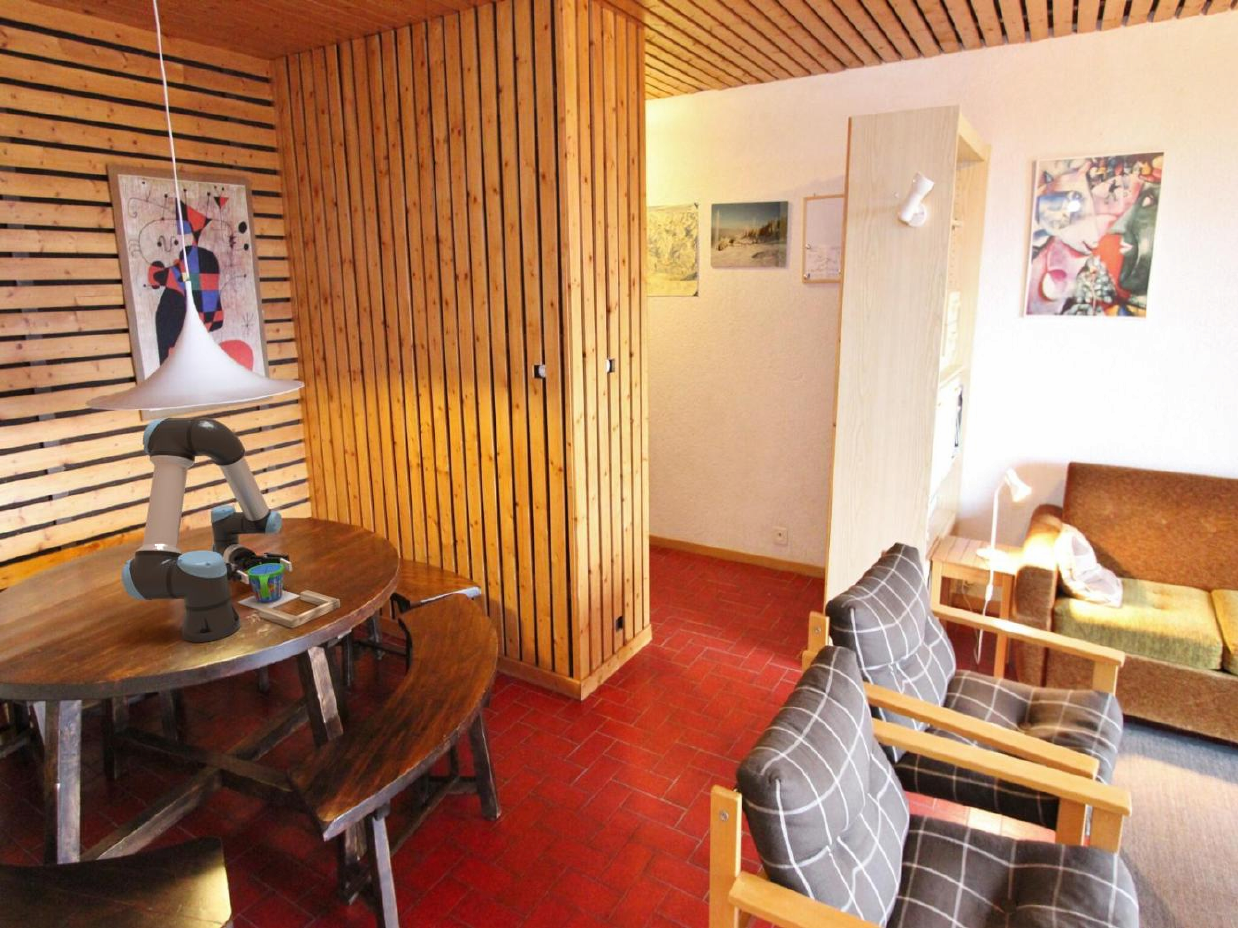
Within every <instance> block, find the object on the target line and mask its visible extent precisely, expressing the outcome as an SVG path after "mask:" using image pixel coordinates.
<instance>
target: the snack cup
mask: <svg viewBox="0 0 1238 928" xmlns="http://www.w3.org/2000/svg"><path fill="white" fill-rule="evenodd" d="M284 572H285V569H284V567H283V565H281V564H278V563H268V564H262V565H258V566H255V567H252V568H250V569H249V570H248V571H246V574H247V575H248V577H249V583H250V585H251V588H252V591H253V594H254V595H255V597H256V600H257V601H258V602H271V601H275V600H277V599H280V597H281V596H282V590H283V585H284V584H283V583H284V582H283V581H284V576H283V575H284V574H283V573H284Z"/></svg>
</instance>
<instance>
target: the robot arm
mask: <svg viewBox="0 0 1238 928" xmlns="http://www.w3.org/2000/svg"><path fill="white" fill-rule="evenodd" d="M142 445H143V450H144V452H145V454H146V455H147V456H149V461H150V462H151V464H152V465H153V467H154V468H153V473H152V481H151V482H152V483H151V487H150V488H151V489H150V494H149V501H148V507H147V515H146V522H145V528H144V534H143V535H144V536H143V543H142V546H140V547H139V548H138V549H136V550H135V552H134V557H133V558H131V559H128V560H127V561H126V562H125V564H124V565H123V568H122V571H121V582H122V585H123V588H124V590H125V592H126V594H127V595H128V596H129V597H130V598H132V599H135V600H139V601H141V600H142V601H143V600H145V601H153V600H154V601H156V600H183V604H184V616H183V620H182V625H181V636H182V639H183V640H185V641H187V642H190V643H204V642H205V643H206V642H211V641H212V642H213V641H215V640H220V639H223V638H226V637H229V636H230V635H233V634H234V633H235V632H237V631H238V630H240V628H241V626H242V623H241V617H240V615H239V613H238V612H237V610H236V608H235V607H234V606H235V605H233V603H232V601H231V596H230V595H231V593H230V585H229V581H230V580H231V579H232V581H233V582H234V583H236V582H238V581H241V582H242V583H244V584H245V585H249V584H250V579H249V577H248V575H247V573H245V572H247V571H248V570H249V569H250V568H252V567H255V566H258V565H262V564H268V563H278V564H281V565H283V567H284V570H286V571H288V572H293V566H292V565H293V564H292V562H291V560H290V555H289V554H280V553H279V554H278V553H270V552H264V553H263V555H257V554H256V553H255V552H254V551H253V550H251V549H250V548H247V547H246V546H244V545H242V544H240V539H239V537H240V536H239V535H271V534H277V533H279V532H280V530H281V528H282V526H283V518H282V515H281V513H280V512H279V511H274V510H270V509H269V507H268V504H267V502H266V501H265V498H264V495H263V494H262V491H261V490H260V487H259V485H258V482H257V481H256V479H255V476H254V475H253V472H252V470H251V467H250V466H249V464H248V462H247V460H246V458H245V456H246V449H245V446H244V444H243V442H242V441H241V440H240V438H239V436H237V435H236V433H234V431H233V430H232V429H230V428H229V427H228V426H227V425H225V424H224V423H222V422H220V421H218V420H216V419H215V418H210V417H203V416H202V417H165V418H157V419H154V420H153V421H152V422H150V423H149V424H148V425H147V426H146V428H145V430H144V433H143V435H142ZM196 457H207V458H209V459H211V461H212V463H213V464H214V465H216V466H217V467H219V468H220V470H221V472H222V475H223V476H224V479H225V481H226V482H227V484H228V486H229V487H230V489H231V491H232V492H231V493H232V494H233V496H234V498H235V499H236V501H237V504H238V505H239V508H240V510H241V511H238V512H237V510H236V508H235V507H234V506H233V505H229V504H226V505H219V506H216V507H215V506H214V507H213V508H211V510H210V523H211V530H212V534H213V535H212V536H213V542H212V544H211V547H210V550H203V549H202V550H195V551H191V550H190V551H188V552H184V553H183V552H182V551H181V550H180V549H179V548H178V546H179V545H178V543H179V536H180V528H181V522H182V521H181V520H182V514H183V513H182V512H183V506H184V499H185V490H186V485H187V476H188V469H190V468H191V467H193V466H194V465H195V461H196Z"/></svg>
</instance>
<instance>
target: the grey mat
mask: <svg viewBox="0 0 1238 928" xmlns="http://www.w3.org/2000/svg"><path fill="white" fill-rule="evenodd" d="M298 598H301V595H299V594H296V593H292V592H290V591H286V590H283V589H282V596H281V597H280V599H277V600H275V601H271V602H258V601H257V600H256V597H255V594H254V595H252V596H249V597H247V598H243V599H241V600H240V601H237V604H240V605H242V606H246V607H247V608H248V607H249V608H251V609H255V610H256V611H259V609H261V608H264V607H269V608H272V609H274V608H276V607H279V606H281V605H283V604H286V603H288V602H291V601H293V600H296V599H298Z"/></svg>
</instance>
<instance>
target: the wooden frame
mask: <svg viewBox="0 0 1238 928" xmlns="http://www.w3.org/2000/svg"><path fill="white" fill-rule="evenodd" d="M299 594H300V600H301V601H303V602H307V603H309V604H313V605H315V606H316V607H315V608H312V609H309V610H307V611H305V612H302V613H300V614H298V615H293V614H289V613H287V612H284V611H281V610H278V609H274V608H269V607H264V608H261V609H259V610H258V614H259V618H261V619H264V620H267V621H269V622H272V623H275V624H278V625H281V626H283V627H287V628H290V629H295V628H298V627H299V626H302V625H304V624H307V623H308V622H311V621H313V620H315V619H317V618H319V617H322V616H323V615H326V614H329V613H330V612H333V611H335V610H337V609H340V608H341V602H340V599H339V598H334V597H331V596H328V595H324V594H321V593H319V592H315V591H311V590H308V589H306V590H303V591H301V592H300V593H299Z"/></svg>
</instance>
